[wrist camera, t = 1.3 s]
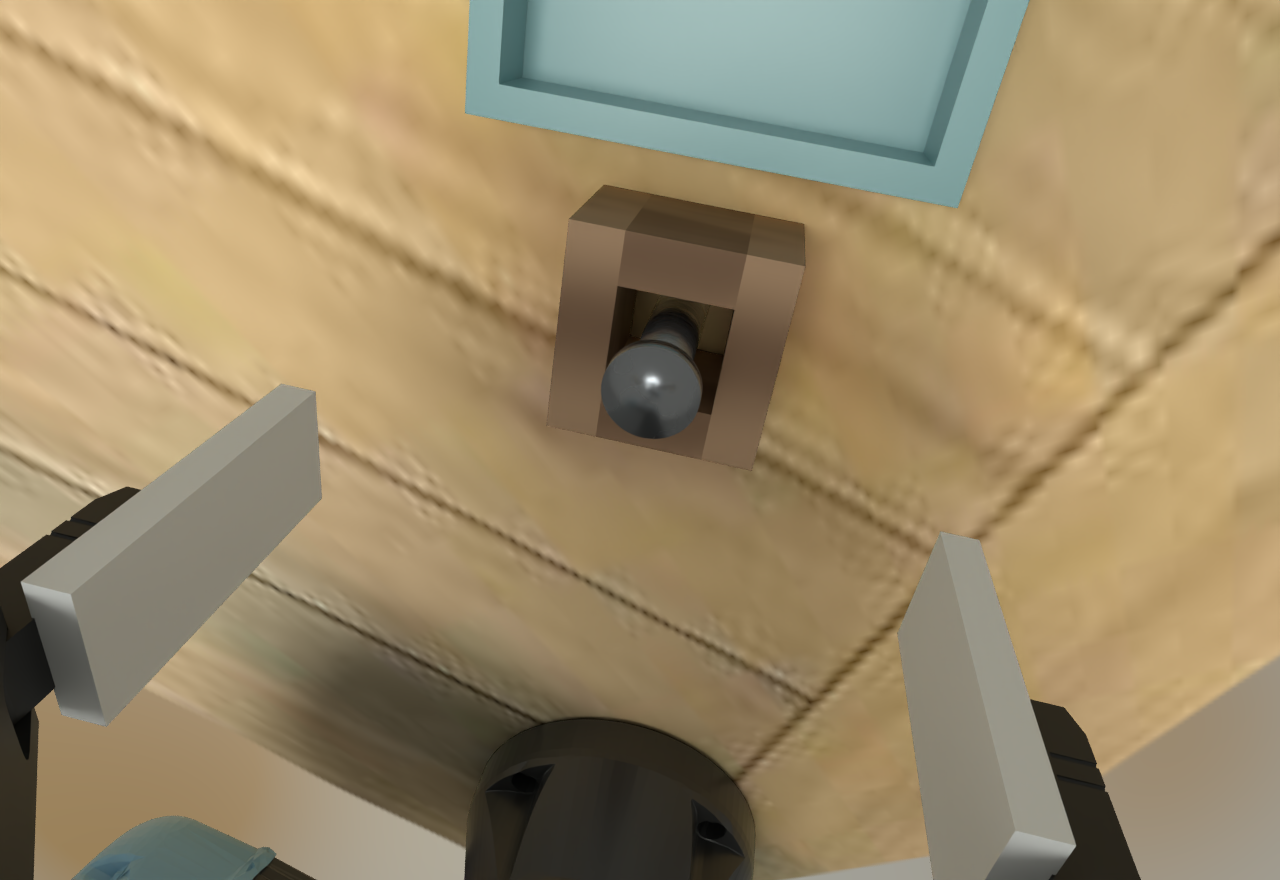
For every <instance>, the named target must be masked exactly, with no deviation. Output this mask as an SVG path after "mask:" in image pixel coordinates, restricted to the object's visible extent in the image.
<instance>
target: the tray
mask: <svg viewBox="0 0 1280 880" xmlns="http://www.w3.org/2000/svg"><path fill="white" fill-rule="evenodd" d="M1028 3H1029V0H470V8H469V32H468V56H467V79H466V103H465V113H466V114H471V115H476V116H481V117H487V118H492V119H497V120H502V121H507V122H513V123H518V124H523V125H528V126H533V127H539V128H544V129H549V130H554V131H559V132H565V133H570V134H575V135H580V136H585V137H590V138H596V139H601V140H606V141H611V142H616V143H622V144H627V145H632V146H637V147H642V148H648V149H653V150H658V151H663V152H668V153H674V154H679V155H684V156H689V157H694V158H700V159H705V160H710V161H715V162H720V163H726V164H731V165H736V166H741V167H746V168H751V169H757V170H762V171H767V172H772V173H777V174H783V175H788V176H793V177H798V178H803V179H809V180H814V181H819V182H824V183H829V184H835V185H840V186H845V187H850V188H855V189H861V190H866V191H871V192H876V193H881V194H887V195H892V196H897V197H902V198H907V199H912V200H918V201H923V202H928V203H933V204H938V205H944V206H949V207H954V208H958V205H959V202H960V200H961V197H962V194H963V191H964V188H965V185H966V182H967V179H968V176H969V173H970V171H971V168H972V165H973V162H974V159H975V156H976V153H977V150H978V147H979V144H980V142H981V139H982V136H983V133H984V130H985V127H986V124H987V121H988V118H989V116H990V113H991V110H992V107H993V104H994V101H995V98H996V95H997V92H998V89H999V87H1000V84H1001V81H1002V78H1003V75H1004V72H1005V69H1006V66H1007V63H1008V61H1009V58H1010V55H1011V52H1012V49H1013V46H1014V43H1015V40H1016V37H1017V34H1018V32H1019V29H1020V26H1021V23H1022V20H1023V17H1024V14H1025V11H1026V8H1027V6H1028Z"/></svg>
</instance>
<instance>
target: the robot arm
mask: <svg viewBox="0 0 1280 880" xmlns="http://www.w3.org/2000/svg"><path fill="white" fill-rule="evenodd" d="M321 499H322V493H321V476H320V459H319V442H318V425H317V408H316V391H311V390H307V389H302V388H298V387H293V386H289V385H284V384H280V385H279V386H278V387H276V388H275V389H274V390H273V391H271V392H270V393H269V394H267V395H266V396H265V397H263V398H262V399H261V400H259V401H258V402H257V403H255V404H254V405H253V406H251V407H250V408H249V409H247V410H246V411H245V412H244V413H242V414H241V415H240V416H238V417H237V418H236V419H234V420H233V421H232V422H230V423H229V424H228V425H226V426H225V427H224V428H222V429H221V430H220V431H219V432H217V433H216V434H215V435H213V436H212V437H211V438H209V439H208V440H207V441H205V442H204V443H203V444H201V445H200V446H199V447H197V448H196V449H195V450H194V451H192V452H191V453H190V454H188V455H187V456H186V457H184V458H183V459H182V460H180V461H179V462H178V463H176V464H175V465H174V466H172V467H171V468H170V469H168V470H167V471H166V472H165V473H163V474H162V475H161V476H159V477H158V478H157V479H155V480H154V481H153V482H151V483H150V484H149V485H147V486H146V487H145V488H143V489H142V490H139V489H135V488H131V487H125V488H122V489H120V490H117V491H115V492H112V493H110V494H108V495H105V496H103V497H100V498H98V499H95V500H94V501H92V502H91V503H90V504H88V505H87V506H86V507H84V508H83V509H81V510H80V511H79V512H77V513H76V514H74V515H73V516H72V517H71V520H70V521H67V520H66V521H65V522H63V523H62V524H61V525H59V526H58V527H56V528H55V529H54V530H52V533H51V535H45V536H44V537H43V538H41V539H40V540H39V541H37V542H36V543H34V544H33V545H32V546H30V547H29V548H27V549H26V550H25V551H23V552H22V553H21V554H19V555H18V556H16V557H15V558H14V559H12V560H11V561H9V562H8V563H7V564H5V565H4V566H3V567H1V568H0V880H33V878H34V848H35V847H34V846H35V818H36V788H37V786H36V785H37V758H38V757H37V756H38V728H39V721H38V718H37V715H36V711H35V709H34V707H35V706H36V705H37V704H38V703H39V702H40V701H41V700H42V699H43V698H45V697H46V696H47V695H48V694H49V693H50V692H51V691H52V690H53V689H54V692H55V695H56V698H57V701H58V705H59V708H60V711H61V714H62V715H64V716H68V717H71V718H75V719H79V720H83V721H87V722H90V723H94V724H98V725H102V726H108V725H109V723H110V722H111V721H112V720H113V719H114V718H115V717H116V716H117V715H118V714H119V713H120V712H121V711H122V710H123V709H124V708H125V707H126V705H127V704H128V703H129V702H130V701H131V700H132V699H133V698H134V697H135V696H136V695H137V694H138V693H139V692H140V691H141V690H142V688H143V687H144V686H145V685H146V684H147V683H148V682H149V681H150V680H151V679H152V678H153V677H154V676H155V675H156V674H157V673H158V672H159V670H160V669H161V668H162V667H163V666H164V665H165V664H166V663H167V662H168V661H169V660H170V659H171V658H172V657H173V656H174V655H175V653H176V652H177V651H178V650H179V649H180V648H181V647H182V646H183V645H184V644H185V643H186V642H187V641H188V640H189V639H190V638H191V637H192V635H193V634H194V633H195V632H196V631H197V630H198V629H199V628H200V627H201V626H202V625H203V624H204V623H205V622H206V621H207V620H208V618H209V617H210V616H211V615H212V614H213V613H214V612H215V611H216V610H217V609H218V608H219V607H220V606H221V605H222V604H223V603H224V601H225V600H226V599H227V598H228V597H229V596H230V595H231V594H232V593H233V592H234V591H235V590H236V589H237V588H238V587H239V586H240V585H241V583H242V582H243V581H244V580H245V579H246V578H247V577H248V576H249V575H250V574H251V573H252V572H253V571H254V570H255V569H256V568H257V566H258V565H259V564H260V563H261V562H262V561H263V560H264V559H265V558H266V557H267V556H268V555H269V554H270V553H271V552H272V551H273V550H274V548H275V547H276V546H277V545H278V544H279V543H280V542H281V541H282V540H283V539H284V538H285V537H286V536H287V535H288V534H289V533H290V531H291V530H292V529H293V528H294V527H295V526H296V525H297V524H298V523H299V522H300V521H301V520H302V519H303V518H304V517H305V516H306V515H307V513H308V512H309V511H310V510H311V509H312V508H313V507H314V506H315V505H316V504H317V503H318V502H319V501H320V500H321ZM898 640H899V647H900V654H901V661H902V668H903V674H904V681H905V688H906V695H907V702H908V709H909V716H910V723H911V730H912V737H913V744H914V750H915V757H916V764H917V771H918V778H919V785H920V792H921V799H922V806H923V813H924V820H925V826H926V833H927V840H928V847H929V854H930V861H931V867H932V875H933V880H1141V879H1140V877H1139V874H1138V871H1137V869H1136V866H1135V863H1134V861H1133V858H1132V856H1131V853H1130V850H1129V848H1128V845H1127V842H1126V840H1125V837H1124V834H1123V832H1122V829H1121V826H1120V824H1119V821H1118V819H1117V816H1116V813H1115V811H1114V808H1113V805H1112V802H1111V800H1110V797H1109V795H1108V793H1107V792H1105V784H1104V782H1103V779H1102V776H1101V773H1100V771H1099V769H1097V768H1096V764H1097V763H1096V760H1095V757H1094V755H1093V752H1092V749H1091V747H1090V744H1089V742H1088V739H1087V736H1086V734H1085V733H1084V732H1083V731H1082V729H1081V728H1080V727H1079V726H1078V724H1077V723H1076V722H1075V721H1074V719H1073V718H1072V717H1071V715H1070V714H1069V713H1068V712H1067V710H1066V709H1065V708H1064V707H1060V706H1056V705H1052V704H1047V703H1043V702H1039V701H1035V700H1031V699H1030V698H1029V695H1028V692H1027V689H1026V686H1025V682H1024V679H1023V676H1022V673H1021V670H1020V667H1019V664H1018V660H1017V657H1016V654H1015V651H1014V648H1013V645H1012V641H1011V638H1010V635H1009V632H1008V629H1007V626H1006V623H1005V619H1004V616H1003V613H1002V610H1001V607H1000V604H999V600H998V597H997V594H996V591H995V588H994V585H993V582H992V578H991V575H990V572H989V569H988V566H987V563H986V559H985V556H984V553H983V550H982V547H981V544H980V541H979V540H977V539H972V538H968V537H963V536H959V535H954V534H950V533H945V532H941V531H940V534H939V536H938V539H937V541H936V543H935V546H934V548H933V550H932V553H931V555H930V557H929V560H928V562H927V565H926V567H925V569H924V572H923V574H922V576H921V579H920V581H919V583H918V586H917V588H916V591H915V593H914V595H913V598H912V600H911V602H910V605H909V607H908V610H907V612H906V614H905V617H904V619H903V621H902V624H901V626H900V628H899V631H898ZM754 851H755V826H754V821H753V817H752V814H751V811H750V809H749V806H748V804H747V802H746V800H745V798H744V797H743V795H742V794H741V792H740V791H739V789H738V788H737V787H736V785H735V784H734V783H733V782H732V781H731V779H730V778H729V777H728V776H727V775H726V774H725V773H724V772H723V771H722V770H721V769H720V768H718V767H717V766H716V765H715V764H714V763H712V762H711V761H710V760H709V759H707V758H706V757H704V756H703V755H701V754H700V753H698V752H697V751H695V750H694V749H692V748H690V747H689V746H687V745H685V744H683V743H681V742H679V741H677V740H675V739H673V738H670V737H668V736H666V735H663V734H661V733H658V732H655V731H652V730H649V729H646V728H642V727H639V726H635V725H630V724H626V723H620V722H614V721H606V720H592V719H579V720H566V721H558V722H553V723H548V724H544V725H540V726H537V727H534V728H531V729H529V730H526V731H524V732H522V733H520V734H518V735H516V736H514V737H513V738H511V739H510V740H508V741H507V742H506V743H504V744H503V745H502V746H501V747H500V748H499V749H498V750H497V751H496V752H495V753H494V754H493V755H492V757H491V758H490V760H489V761H488V763H487V765H486V767H485V769H484V772H483V774H482V777H481V779H480V782H479V784H478V787H477V789H476V792H475V794H474V797H473V799H472V802H471V805H470V810H469V814H468V820H467V837H466V857H465V858H466V859H465V878H464V880H752V879H753V870H754ZM275 856H276V853H275V852H274V851H273V850H271V849H270V848H268V847H262V848H259V849H257V848H255V847H252V846H250V845H248V844H246V843H244V842H242V841H239V840H237V839H235V838H233V837H231V836H229V835H226V834H224V833H222V832H220V831H218V830H216V829H213V828H211V827H209V826H207V825H205V824H203V823H200V822H198V821H196V820H194V819H190V818H187V817H182V816H165V817H160V818H156V819H151V820H149V821H147V822H144V823H142V824H140V825H138V826H136V827H134V828H132V829H130V830H129V831H127V832H126V833H124V834H123V835H122V836H120V837H119V838H118V839H116V840H115V841H114V842H113V843H112V844H110V845H109V846H108V847H107V848H105V849H104V850H103V851H102V852H101V853H99V855H98V856H96V857H95V858H94V859H93V860H92V861H91V862H89V863H88V864H87V865H86V866H85V867H84V868H83V869H82V870H81V871H80V872H79V873H78V874H77V875H76V876H75V877H74V878H72V879H71V880H316V879H314V878H312V877H310V876H308V875H306V874H305V873H303V872H301V871H299V870H297V869H295V868H293V867H292V866H290V865H288V864H286V863H284V862H282V861H280V860H278V859H277V858H275Z"/></svg>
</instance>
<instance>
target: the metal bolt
mask: <svg viewBox="0 0 1280 880" xmlns="http://www.w3.org/2000/svg"><path fill="white" fill-rule="evenodd" d="M708 308H709V304H704V303H699V302H694V301H689V300H684V299H679V298H675V297H670V296H665V295H660V297H659V299H658V301H657V303H656V305H655V308H654V310H653V312H652V314H651V316H650V318H649V321H648V323H647V325H646V327H645V329H644V331H643V334H642V336H641V338H640V340H639V341H636V342H633V343H631V344H629V345H627V346H625V347H623V348H622V349H621V350H619V351H618V352H617V353H616V354H615V356H614V357H613V358H612V360H611V361H610V363H609V365H608V367H607V369H606V371H605V373H604V376H603V378H602V383H601V397H602V402H603V405H604V407H605V409H606V411H607V413H608V415H609V416H610V418H611V419H612V420H613V421H614V422H615V423H616V424H617V425H618V426H619V427H620V428H622V429H623V430H625V431H626V432H628V433H630V434H632V435H635V436H638V437H641V438H647V439H662V438H667V437H670V436H673V435H675V434H677V433H679V432H681V431H682V430H684V429H685V428H686V427H687V426H688V425H689V424H690V423H691V422H692V421H693V419H694V418H695V416H696V414H697V412H698V409H699V405H700V401H701V397H702V390H703V389H702V378H701V375H700V372H699V369H698V367H697V366H696V364H695V362H694V357H695V354H696V350H697V347H698V343H699V340H700V336H701V333H702V329H703V326H704V322H705V319H706V315H707V311H708Z"/></svg>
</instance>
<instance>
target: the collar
mask: <svg viewBox="0 0 1280 880" xmlns="http://www.w3.org/2000/svg"><path fill="white" fill-rule="evenodd" d="M804 270H805V236H804V224H800V223H795V222H790V221H785V220H780V219H775V218H770V217H765V216H760V215H755V214H750V213H744V212H739V211H734V210H729V209H724V208H719V207H714V206H709V205H704V204H699V203H694V202H689V201H683V200H678V199H673V198H668V197H663V196H658V195H653V194H648V193H643V192H638V191H633V190H627V189H622V188H617V187H612V186H607V185H603V186H602V187H601V188H600V189H599V190H598V191H597V192H596V193H595V194H594V195H593V196H592V197H591V198H590V199H589V200H588V201H587V202H586V203H585V204H584V205H583V206H582V207H581V208H580V209H579V210H578V211H577V212H576V213H575V214H574V215H573V216H572V217H571V218H569V223H568V232H567V242H566V251H565V260H564V269H563V278H562V288H561V297H560V306H559V315H558V324H557V333H556V343H555V352H554V361H553V370H552V379H551V389H550V398H549V407H548V416H547V425H546V426H550V427H555V428H559V429H564V430H568V431H573V432H577V433H582V434H587V435H591V436H596V437H600V438H605V439H609V440H614V441H618V442H623V443H628V444H632V445H637V446H641V447H646V448H650V449H655V450H659V451H664V452H668V453H673V454H678V455H682V456H687V457H691V458H696V459H700V460H705V461H709V462H714V463H719V464H723V465H728V466H732V467H737V468H741V469H746V470H750V471H752V468H753V465H754V461H755V457H756V453H757V449H758V446H759V442H760V438H761V434H762V430H763V426H764V423H765V419H766V415H767V411H768V407H769V404H770V400H771V396H772V392H773V388H774V384H775V381H776V377H777V373H778V369H779V365H780V362H781V358H782V354H783V350H784V346H785V342H786V339H787V335H788V331H789V327H790V323H791V320H792V316H793V312H794V308H795V304H796V300H797V297H798V293H799V289H800V285H801V281H802V278H803V274H804ZM637 290H640V291H645V292H650V293H655V294H660V295H665V296H670V297H675V298H679V299H684V300H689V301H694V302H699V303H704V304H709V305H713V306H718V307H723V308H728V309H733V310H734V311H733V315H732V320H731V324H730V329H729V333H728V338H727V342H726V347H725V351H724V355H719V354H714V353H710V352H705V351H700V350H696V354H695V357H694V362H695V364H696V366H697V367H698V369H699V372H700V375H701V378H702V389H703V390H702V397H701V401H700V405H699V409H698V412H697V414H696V416H695V418H694V419H693V421H692V422H691V423H690V424H689V425H688V426H687V427H686V428H685V429H684V430H682V431H681V432H679V433H677V434H675V435H673V436H670V437H667V438H662V439H647V438H641V437H638V436H635V435H632V434H630V433H628V432H626V431H625V430H623V429H622V428H620V427H619V426H618V425H617V424H616V423H615V422H614V421H613V420H612V419H611V418H610V416H609V415H608V413H607V411H606V409H605V407H604V405H603V402H602V397H601V383H602V378H603V376H604V373H605V371H606V369H607V367H608V365H609V363H610V361H611V360H612V358H613V357H614V356H615V354H616V353H617V352H618V351H619V350H621V349H622V348H623V347H625V346H627V345H629V344H631V343H633V342H636V341H639V340H640V338H638V337H633V336H630V331H631V325H632V318H633V312H634V306H635V299H636V293H637Z"/></svg>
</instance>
